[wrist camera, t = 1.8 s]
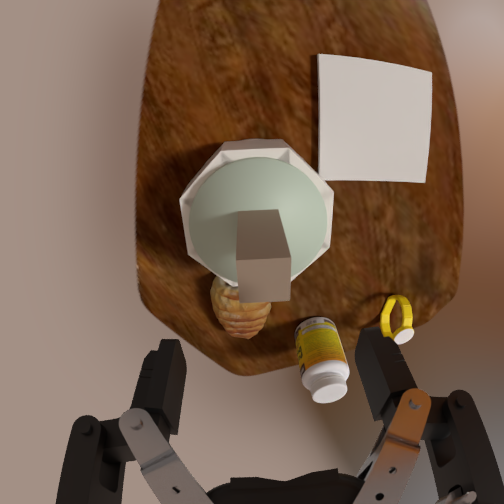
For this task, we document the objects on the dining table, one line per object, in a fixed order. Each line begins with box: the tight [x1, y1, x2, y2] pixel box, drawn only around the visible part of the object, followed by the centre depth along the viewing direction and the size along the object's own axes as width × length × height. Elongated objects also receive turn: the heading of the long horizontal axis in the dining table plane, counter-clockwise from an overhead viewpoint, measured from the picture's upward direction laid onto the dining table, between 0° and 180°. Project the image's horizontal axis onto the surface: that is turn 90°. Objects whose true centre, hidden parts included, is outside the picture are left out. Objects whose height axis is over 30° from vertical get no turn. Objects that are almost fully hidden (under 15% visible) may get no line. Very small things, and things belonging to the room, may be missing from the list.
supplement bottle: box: [294, 317, 349, 403], centre depth 33 cm, size 6×6×10 cm
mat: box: [317, 54, 432, 183], centre depth 24 cm, size 12×12×1 cm
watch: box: [380, 295, 414, 344], centre depth 33 cm, size 6×3×6 cm, turn 174°
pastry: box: [210, 276, 271, 339], centre depth 33 cm, size 9×7×4 cm
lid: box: [189, 157, 327, 303], centre depth 20 cm, size 11×11×8 cm
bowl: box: [179, 139, 334, 287], centre depth 26 cm, size 12×12×6 cm
